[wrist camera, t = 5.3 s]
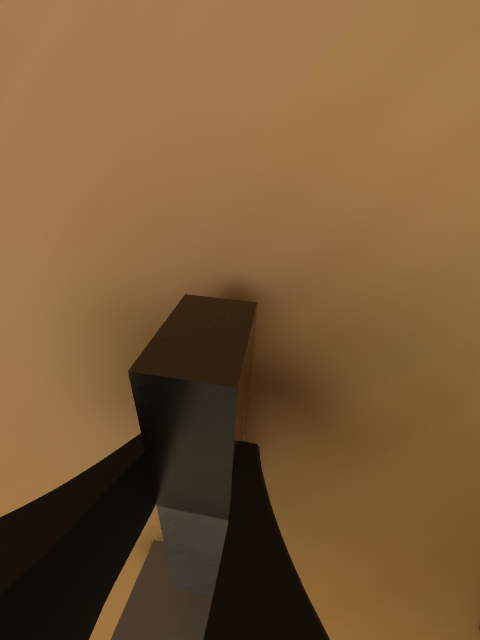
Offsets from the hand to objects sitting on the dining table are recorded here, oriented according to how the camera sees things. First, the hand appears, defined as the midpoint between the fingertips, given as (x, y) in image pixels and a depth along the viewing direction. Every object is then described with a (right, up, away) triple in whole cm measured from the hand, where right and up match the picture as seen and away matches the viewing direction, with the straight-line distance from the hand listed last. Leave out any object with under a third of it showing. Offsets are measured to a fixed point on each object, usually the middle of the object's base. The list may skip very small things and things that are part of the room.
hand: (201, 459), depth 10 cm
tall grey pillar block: (0, 0, +3) cm, 4 cm away
